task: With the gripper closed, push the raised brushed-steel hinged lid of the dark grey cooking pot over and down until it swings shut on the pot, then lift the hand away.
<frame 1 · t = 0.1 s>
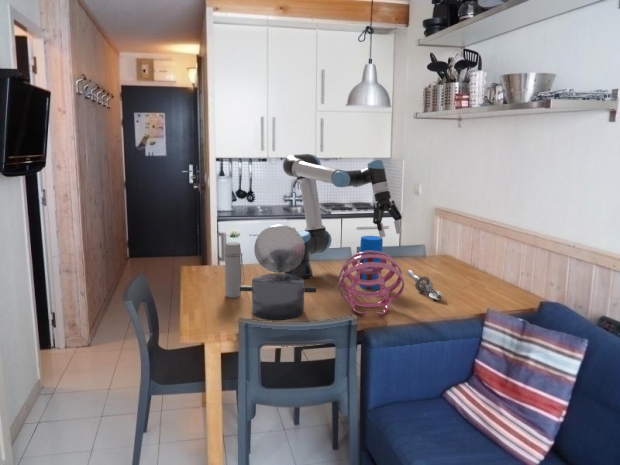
hand: (391, 235, 246), 28 cm above the table, fingers open, 13 cm apart
water bottle: (235, 296, 239), on the table
lid: (279, 247, 226), point 25 cm above the table, hinge at 80.0°
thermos: (369, 286, 259), on the table
spaceship: (422, 292, 252), on the table
pot: (277, 311, 220), on the table
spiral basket: (370, 310, 224), on the table
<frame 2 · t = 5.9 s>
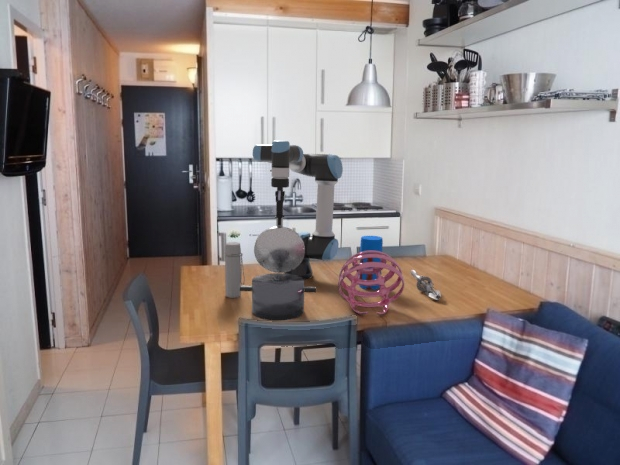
hand: (279, 232, 222), 33 cm above the table, fingers closed
lid: (279, 248, 225), point 25 cm above the table, hinge at 74.0°, touching gripper
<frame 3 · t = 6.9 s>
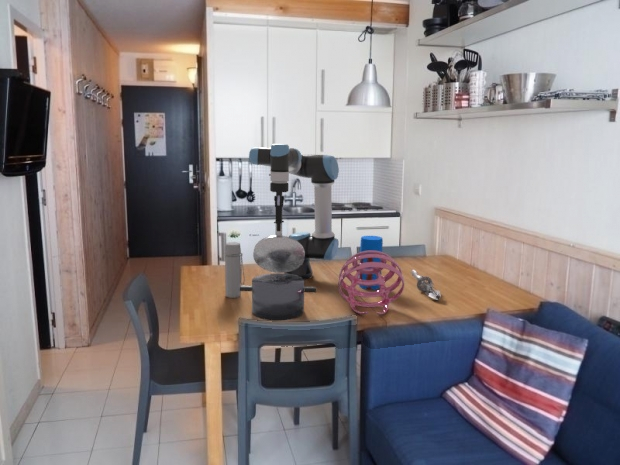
hand: (278, 238, 216), 32 cm above the table, fingers closed
lid: (279, 252, 222), point 24 cm above the table, hinge at 54.9°, touching gripper
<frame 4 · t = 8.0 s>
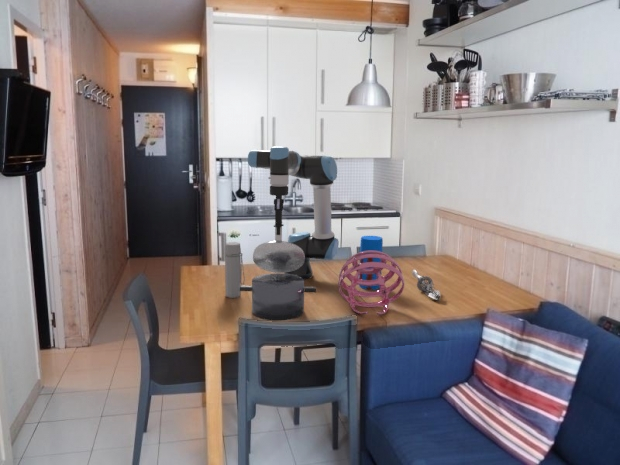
hand: (278, 242, 213), 30 cm above the table, fingers closed
lid: (279, 254, 220), point 24 cm above the table, hinge at 46.7°, touching gripper
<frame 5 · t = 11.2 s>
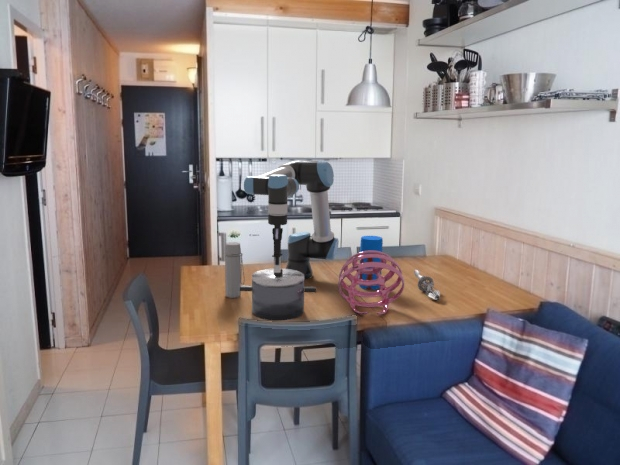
hand: (277, 272, 207), 20 cm above the table, fingers closed
lid: (278, 274, 217), point 16 cm above the table, hinge at -0.2°
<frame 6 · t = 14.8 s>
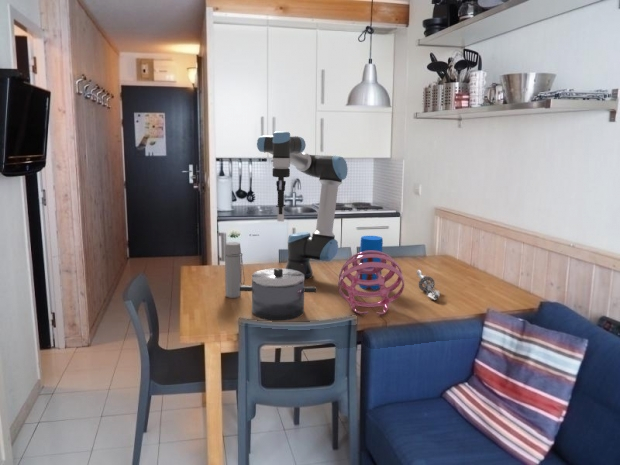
hand: (280, 221, 229), 36 cm above the table, fingers closed
at the end: lid at +0° (first picture: +80°); the gripper is holding nothing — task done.
